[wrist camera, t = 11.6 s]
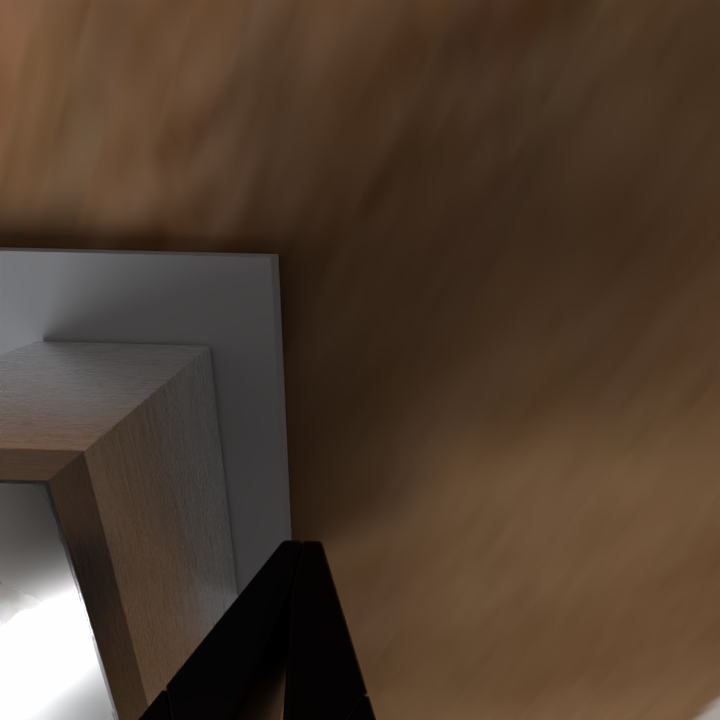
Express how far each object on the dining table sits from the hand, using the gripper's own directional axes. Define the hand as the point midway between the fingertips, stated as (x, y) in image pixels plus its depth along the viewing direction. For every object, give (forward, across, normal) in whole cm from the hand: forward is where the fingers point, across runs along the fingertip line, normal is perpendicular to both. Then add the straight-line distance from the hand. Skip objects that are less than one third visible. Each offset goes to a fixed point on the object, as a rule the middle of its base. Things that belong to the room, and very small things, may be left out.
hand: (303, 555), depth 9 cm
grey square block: (+3, +4, 0) cm, 5 cm away
